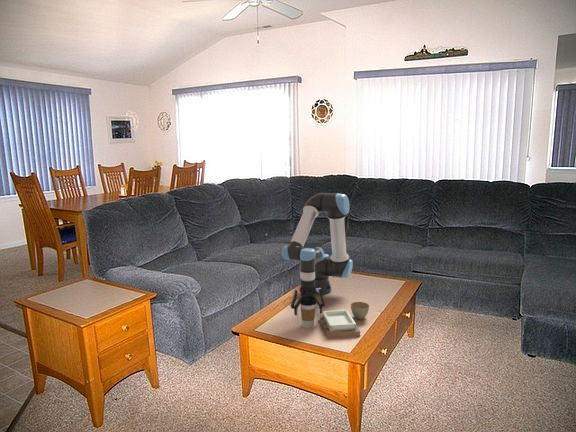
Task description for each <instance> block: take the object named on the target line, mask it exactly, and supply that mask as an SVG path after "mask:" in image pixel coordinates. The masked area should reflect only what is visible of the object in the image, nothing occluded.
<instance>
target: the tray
mask: <svg viewBox="0 0 576 432" xmlns="http://www.w3.org/2000/svg"><path fill="white" fill-rule="evenodd" d="M322 315H323V318H324V320H325V322H326V324H327V326H328V328H329V330H330V331H344V330H356V325H357V323H356V322H355V319H353V317H352V316H351V314H350V313H349V311H348V310H347V309H336V310H333V309H332V310H322Z"/></svg>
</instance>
